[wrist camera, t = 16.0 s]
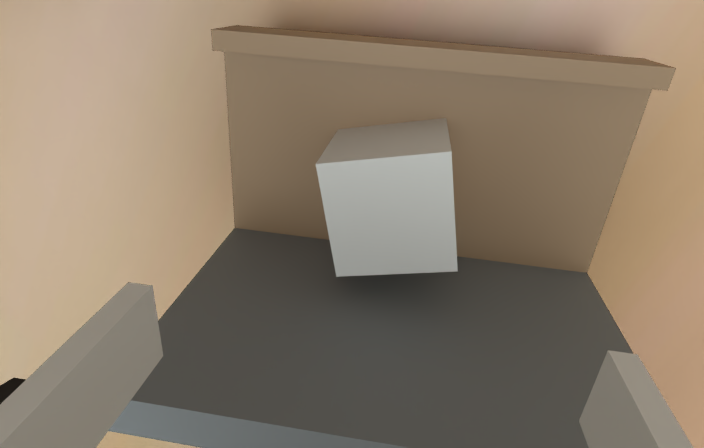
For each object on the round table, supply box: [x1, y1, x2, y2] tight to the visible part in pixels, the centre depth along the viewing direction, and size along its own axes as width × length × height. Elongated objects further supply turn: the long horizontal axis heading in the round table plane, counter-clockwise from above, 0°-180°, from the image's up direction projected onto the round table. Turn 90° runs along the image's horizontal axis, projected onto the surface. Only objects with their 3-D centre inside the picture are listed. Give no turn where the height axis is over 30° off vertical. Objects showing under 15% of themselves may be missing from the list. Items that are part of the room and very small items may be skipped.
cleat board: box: [108, 25, 676, 448], centre depth 24 cm, size 14×22×22 cm, turn 86°
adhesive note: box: [316, 118, 458, 277], centre depth 24 cm, size 6×6×6 cm
